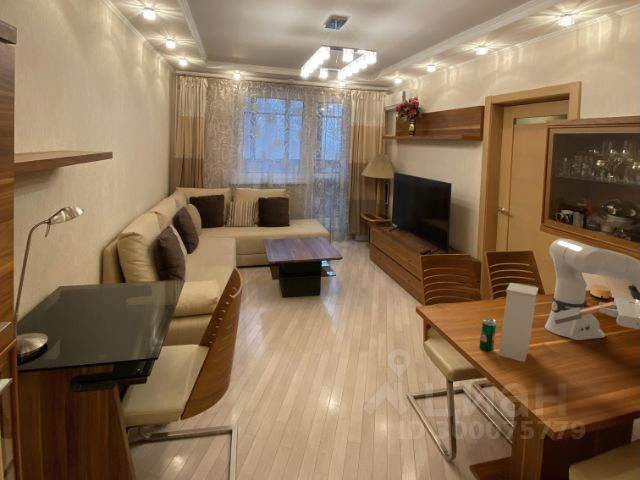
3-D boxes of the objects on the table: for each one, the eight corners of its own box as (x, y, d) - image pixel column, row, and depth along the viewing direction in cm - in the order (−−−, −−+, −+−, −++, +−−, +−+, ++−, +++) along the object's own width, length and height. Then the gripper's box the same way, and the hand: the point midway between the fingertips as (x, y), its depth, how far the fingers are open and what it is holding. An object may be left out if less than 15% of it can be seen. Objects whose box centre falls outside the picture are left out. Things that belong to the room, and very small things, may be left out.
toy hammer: (613, 302, 142) (611, 298, 142) (615, 310, 136) (613, 305, 136) (557, 316, 152) (555, 313, 152) (556, 324, 145) (554, 320, 145)
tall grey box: (528, 352, 161) (538, 287, 155) (525, 362, 153) (535, 295, 147) (501, 345, 166) (510, 282, 160) (497, 355, 158) (506, 289, 152)
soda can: (476, 346, 164) (480, 317, 162) (489, 346, 165) (493, 317, 162) (482, 352, 159) (486, 323, 157) (495, 352, 160) (499, 323, 157)
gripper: (653, 337, 126) (598, 326, 133) (644, 316, 144) (596, 306, 150) (657, 318, 125) (602, 307, 132) (648, 298, 142) (599, 290, 149)
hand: (599, 307), depth 141 cm, fingers closed on toy hammer, 3 cm apart
